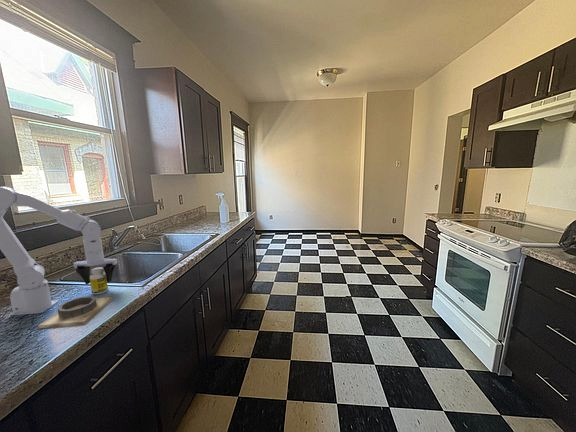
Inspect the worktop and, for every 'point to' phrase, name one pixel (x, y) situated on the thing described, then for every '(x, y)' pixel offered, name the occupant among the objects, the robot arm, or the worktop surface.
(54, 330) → the worktop surface
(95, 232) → the robot arm
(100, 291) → the supplement bottle
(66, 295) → the worktop surface
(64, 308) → the socket plate
